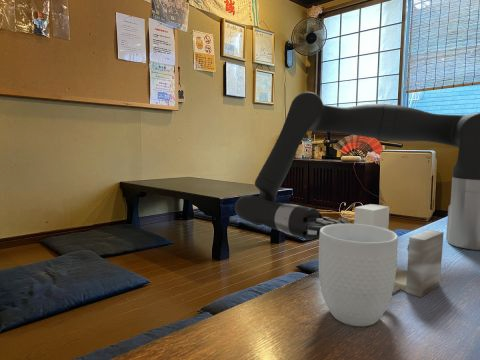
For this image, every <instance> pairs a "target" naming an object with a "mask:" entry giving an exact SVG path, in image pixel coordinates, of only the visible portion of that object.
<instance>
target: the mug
mask: <svg viewBox="0 0 480 360" xmlns="http://www.w3.org/2000/svg"><path fill="white" fill-rule="evenodd" d="M398 238H399V237H398V234H397V233H395V232H394V231H392V230H391V229H389V228H388V229H385V228H381V227H377V226H371V225H364V224H354V223H350V224H332V225H327V226H324V227H322V228H321V229H320V235H319V238H318V239H319V241H318V267H317V268H318V278H319V286H320V291H321V294H322V296H323V297H322V298H323V300H324V302H325V305H326V306H327V309H328V311H329V312H330V314H331V315H332V316H333V317H334V318H335V320H336V321H338V322H340V323H343V324H345V325H347V326H353V327H368V326H372V325H374V324H376V323H377V322H378V321H379V320H380V319H381V318H382V316H383V314H385V312H386V310H387V308H388V306H389V303H390V300H391V298H392V295H393V294H392V291H393V287H394V282H395V275H396V268H398V267H397V266H398V252H399V251H398V245H399V243H398V242H399V239H398Z"/></svg>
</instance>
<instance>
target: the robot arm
mask: <svg viewBox="0 0 480 360" xmlns="http://www.w3.org/2000/svg"><path fill="white" fill-rule="evenodd" d="M308 132H324V133H325V132H326V133H342V134H345V135H346V134H347V135H351V136H356V137H357V136H358V137H359V136H360V137H366V138H371V139H378V140H385V141H386V140H387V141H394V142H428V143H430V142H431V143H437V144H443V145H446V146H451V147H454V148H458V151H457V153H458V154H457V159H456V162H455V165H454V166H453V168H452V175H451V176H452V180H451V190H450V191H451V192H450V194H451V195H450V204H449V205H448V209H447V210H448V211H447V223H446V233H445V234H446V236H445V239H446V241H447V243H448V244H449V245H452V246H454V247H457V248H461V249H467V250H468V249H469V250H475V251H480V112H477V113H471V114H441V113H440V114H438V113H433V112H428V111H424V110H421V109H418V108H414V107H410V106H404V105H397V104H389V103H368V104H360V105H354V106H343V107H342V106H334V105H327V104H324V103H323V100H322V98H321V97H320V95H318V94H316V93H315V92H312V91H304V92H301V93H299V94H298V95H296V96H295V97H294V98H293V99H292V101H291V104H290V105H289V110H288V112H287V115H286V119H285V121H284V123H283V126H282V128H281V131H280V132H279V135H278V138H277V140H276V141H275V144H274V145H273V148H272V149H271V151H270V153H269V154H268V156H267V159H265V160H266V161H265V162H264V164H263V165H262V167H261V169H260V171H259V173H258V175H257V177H256V178H255V181H254V186H255V188H256V189H258V191H259V195H258V196H257V195H256V196H255V195H252V194H245V195H242V196H240V197H239V198H238V199H237V200H236V202H235V204H234V205H235V206H234V210H235V213H236V215H237V216H238V217H239V219H240V220H243V221H246V222H248V223H250V224H252V225H256V226H262V225H264V226H265V227H267V228H270V229H273V230H277V231H278V232H279V231H280V232H283V233H284V234H287V235H290V236H294V237H298V238H301V239H304V240H308V241H311V240H313V239H319V235H320V229H321V228H322V227H324V226H327V225H332V224H351V223H350V222H349V221H348V220H346V219H345V218H342V217H340V218H339V217H338V219H337V220H336V219H333V218H331V217H329V216H322V214H321V212H320V211H319V210H318V209H317V208H314V207H309V206H303V205H299V204H293V203H283V202H279V201H278V202H276V200H277V195H278V192H279V190H280V187H282V185H283V183H284V181H285V179H286V177H287V175H288V174H289V170H290V169H291V167H292V163H293V161H294V158H295V156H296V153H297V151H298V149H299V146H300V144H301V142H302V141H303V139H304V137H305V135H306V134H307V133H308Z"/></svg>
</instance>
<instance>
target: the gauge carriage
mask: <svg viewBox="0 0 480 360" xmlns="http://www.w3.org/2000/svg"><path fill="white" fill-rule="evenodd" d="M353 218H354V221H353V224H364V225H371V226H377V227H381V228H385V229H388V230H389V223H390V221H389V220H390V206H386V205H379V204H374V203H373V204H372V203H369V204H365V205H359V206H356V207H354V217H353Z"/></svg>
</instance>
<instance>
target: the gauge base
mask: <svg viewBox="0 0 480 360" xmlns="http://www.w3.org/2000/svg"><path fill="white" fill-rule="evenodd" d="M443 244H444V231H438V230H434V229H426V230H424V231H422V232H419V233H416V234H413V235H411V236H409V238H408V244H407V254H408V255H407V256H408V257H407V266H406V270H405V269H402V268H401V269H400V268H398V267H396V275H395V282H394V287H393V291H392V295H395V294H397V293H398V292H400V291H401V290H402V291H404V292H405V293H407V294H409V295H412V296H416V297H418V298H423V297H424V296H425V295H427V294H428V293H430V292H431V291H433V290H435V289H436V288H438V287H439V286H440V284H441V272H442V260H443V259H442V258H443V246H444V245H443Z"/></svg>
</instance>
